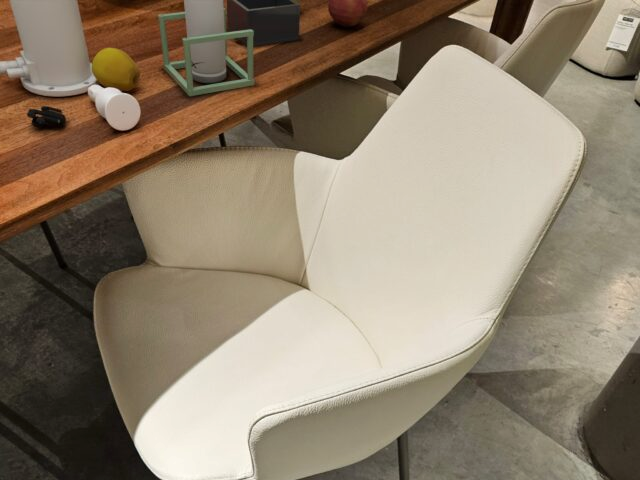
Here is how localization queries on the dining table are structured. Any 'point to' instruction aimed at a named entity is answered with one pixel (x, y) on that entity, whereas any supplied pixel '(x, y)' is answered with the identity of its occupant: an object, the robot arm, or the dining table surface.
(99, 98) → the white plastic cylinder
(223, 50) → the travel mug
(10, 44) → the dining table surface
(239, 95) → the dining table surface
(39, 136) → the dining table surface
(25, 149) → the dining table surface
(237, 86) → the rack
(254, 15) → the dark grey storage box
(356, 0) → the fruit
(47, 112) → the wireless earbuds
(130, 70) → the lemon
